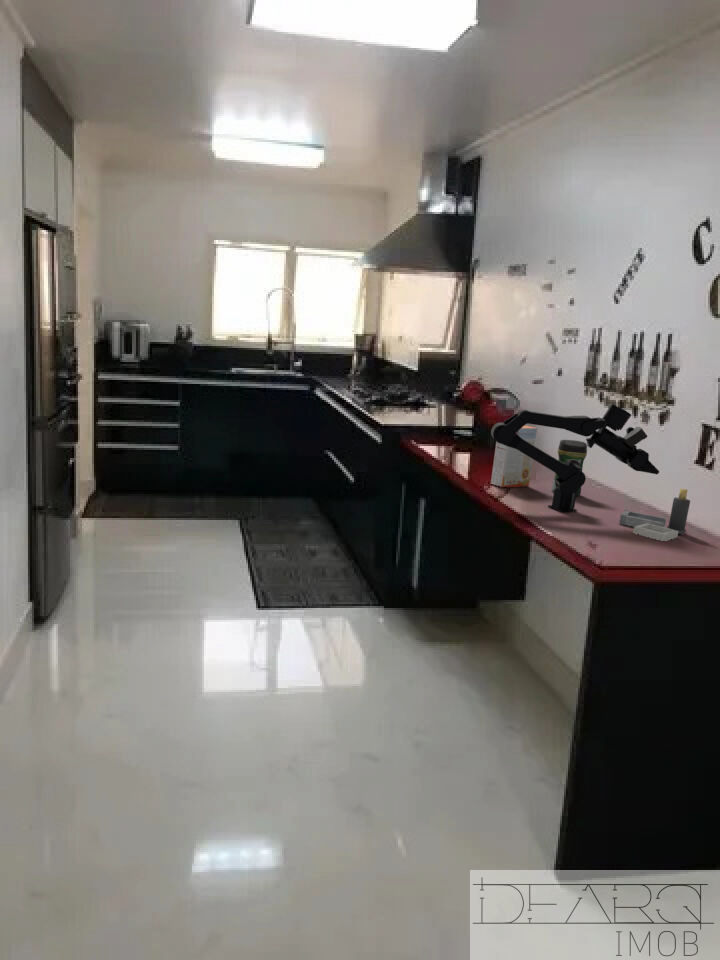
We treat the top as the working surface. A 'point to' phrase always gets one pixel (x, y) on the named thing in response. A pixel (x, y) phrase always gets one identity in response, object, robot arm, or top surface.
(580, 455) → the coffee jar
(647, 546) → the top surface
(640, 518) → the grey tray
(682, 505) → the plug
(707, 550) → the top surface
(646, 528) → the socket
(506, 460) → the cracker box
